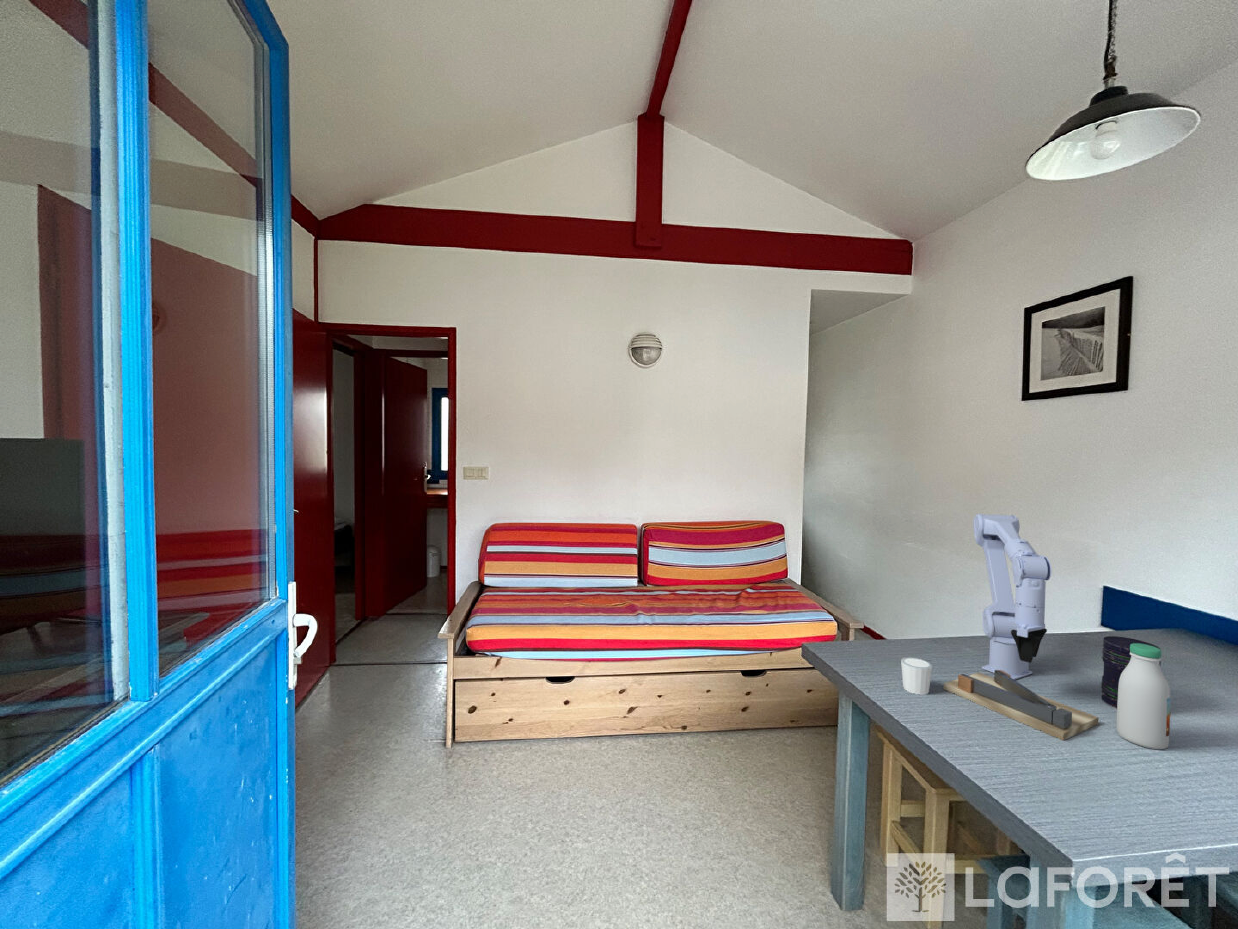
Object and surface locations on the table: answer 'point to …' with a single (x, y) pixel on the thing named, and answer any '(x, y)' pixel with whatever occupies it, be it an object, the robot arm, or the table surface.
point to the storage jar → (1115, 665)
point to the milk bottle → (1144, 699)
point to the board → (1078, 717)
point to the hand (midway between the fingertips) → (1028, 658)
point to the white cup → (916, 675)
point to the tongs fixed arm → (1016, 702)
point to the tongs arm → (1018, 688)
